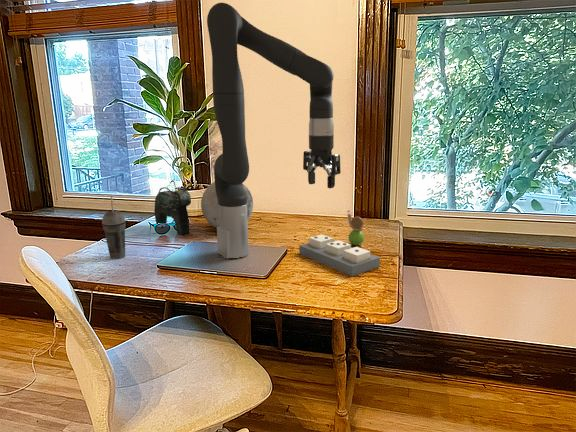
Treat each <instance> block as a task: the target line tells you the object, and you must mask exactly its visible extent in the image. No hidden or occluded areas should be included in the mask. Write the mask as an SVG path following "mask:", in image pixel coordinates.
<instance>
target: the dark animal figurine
mask: <svg viewBox="0 0 576 432" xmlns="http://www.w3.org/2000/svg"><path fill="white" fill-rule="evenodd" d="M169 183H170V184H172V183H173V184H174V190H170V188H168V187H161V188H159V190H158V193H157V194H156V196H155V197H154V198H155V199H154V212H153V213H154V219H155V222H156V223H155V224H158V223H167V222H168V217H170V218H172V220H173V221H174V224H175V226H176V234H177V235H180V236H185V235H189V234H190V221H189V219H190V218H189V212H188V210H187V207H188V206H190V205H191V203H192V199H191V197H192V196H191V195H190V192H189V191H188V190H187V189H188V188H187V187H184V188H183V189H181V187H178V189H177V188H176V182H175V181H174V180H171V181H170V182H169ZM162 189H166V190H163V191H162Z"/></svg>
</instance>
